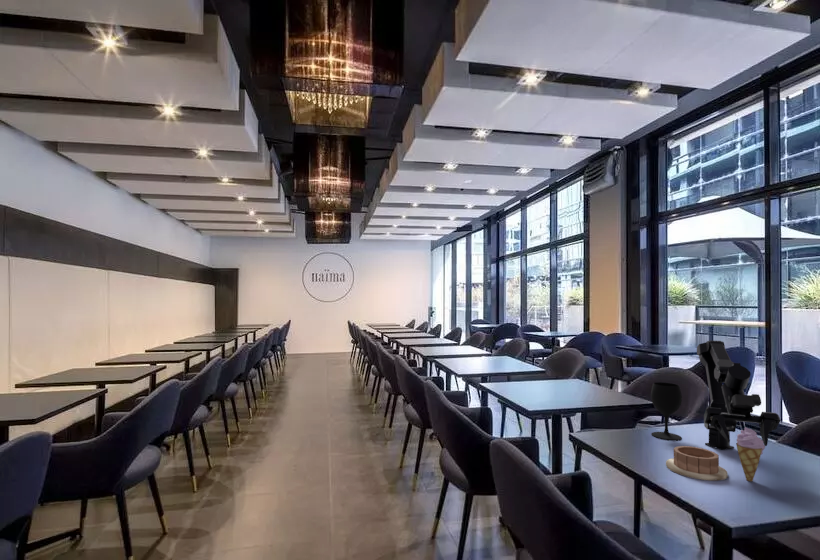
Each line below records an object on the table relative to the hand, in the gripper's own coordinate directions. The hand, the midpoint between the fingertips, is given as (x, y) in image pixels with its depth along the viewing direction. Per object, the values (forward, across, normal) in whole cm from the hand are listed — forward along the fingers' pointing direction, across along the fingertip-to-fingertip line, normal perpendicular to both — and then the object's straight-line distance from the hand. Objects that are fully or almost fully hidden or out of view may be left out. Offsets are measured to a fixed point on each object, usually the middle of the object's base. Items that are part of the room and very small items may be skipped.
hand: (747, 443), depth 135 cm
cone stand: (+7, -13, +7) cm, 17 cm away
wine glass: (-19, -16, +33) cm, 41 cm away
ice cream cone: (+9, 0, +5) cm, 10 cm away
